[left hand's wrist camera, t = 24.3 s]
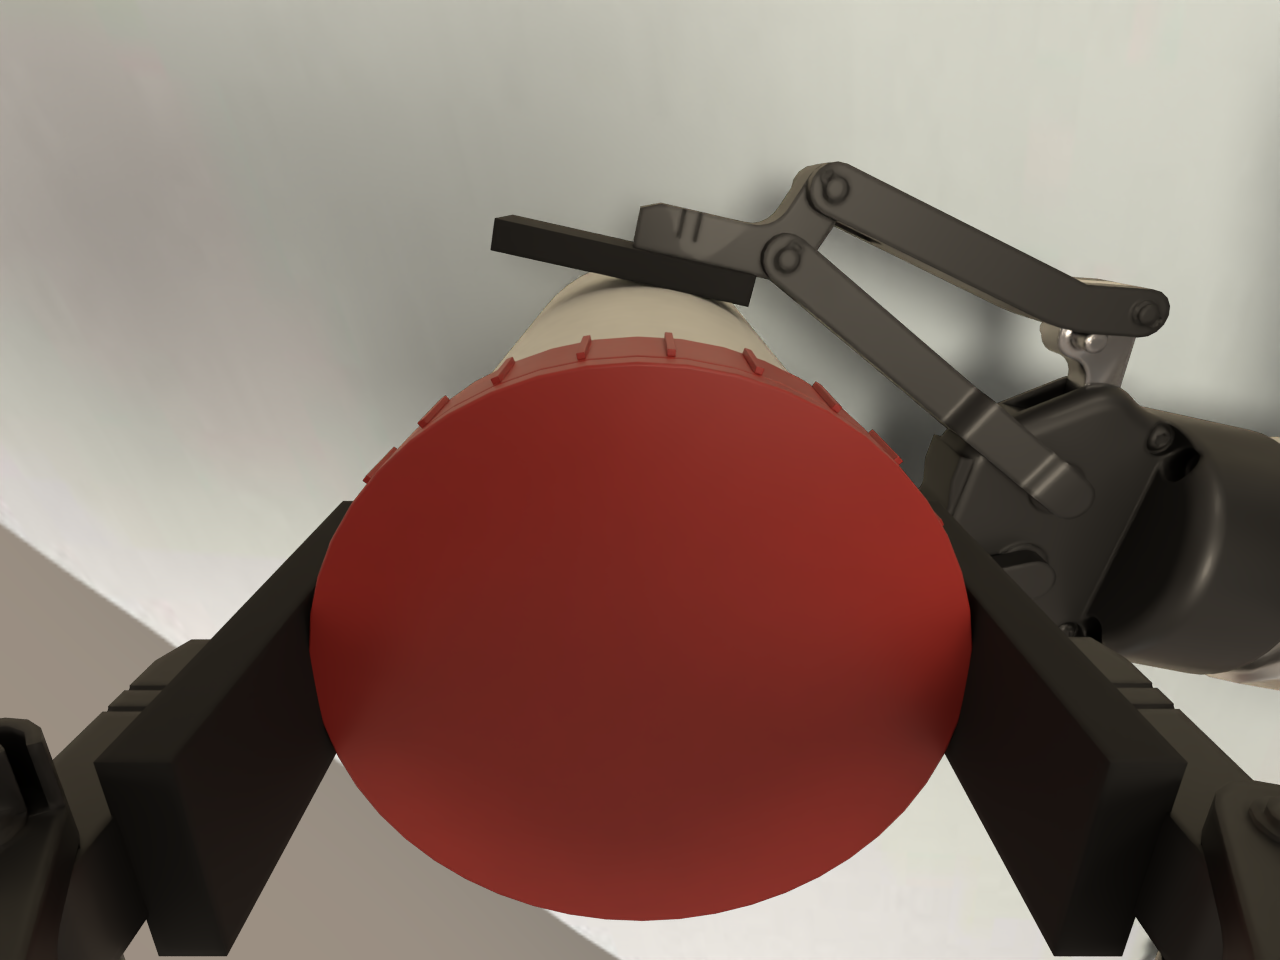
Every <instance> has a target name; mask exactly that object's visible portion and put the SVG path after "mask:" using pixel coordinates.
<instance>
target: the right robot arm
mask: <svg viewBox="0 0 1280 960" xmlns="http://www.w3.org/2000/svg"><path fill="white" fill-rule="evenodd" d="M833 226H835V227H837V228H839V229H841V230H843V231H845V232H847V233H849V234H851V235H853V236H855V237H857V238H859V239H861V240H863V241H865V242H867V243H870V244H872V245H874V246H876V247H878V248H880V249H882V250H884V251H886V252H888V253H890V254H892V255H894V256H896V257H898V258H900V259H902V260H904V261H906V262H908V263H910V264H913V265H915V266H917V267H919V268H921V269H923V270H925V271H927V272H929V273H931V274H933V275H935V276H937V277H939V278H941V279H943V280H945V281H947V282H949V283H951V284H953V285H955V286H958V287H960V288H962V289H964V290H966V291H968V292H970V293H972V294H974V295H976V296H978V297H980V298H982V299H984V300H986V301H988V302H990V303H992V304H994V305H996V306H998V307H1001V308H1003V309H1006V310H1008V311H1010V312H1013V313H1016V314H1019V315H1022V316H1025V317H1028V318H1031V319H1034V320H1037V321H1040V322H1042V323H1041V325H1040V332H1041V338H1042V342H1043V344H1044V346H1045V347H1046V348H1047V349H1048V350H1050V351H1053V352H1055V353H1058V354H1060V355H1062V356H1063V357H1064V358H1065V360H1066V361H1067V363H1068V368H1069V370H1068V376H1065V377H1062V378H1059V379H1057V380H1054V381H1052V382H1049V383H1047V384H1044V385H1042V386H1039V387H1037V388H1034V389H1032V390H1029V391H1027V392H1024V393H1022V394H1019V395H1017V396H1014V397H1012V398H1009V399H1007V400H1004V401H1001V402H999V403H996V402H995V401H993V400H992V399H991V398H989V397H988V396H987V395H985V394H984V393H983V392H981V391H980V390H979V389H977V388H976V387H975V386H974V385H973V384H971V383H970V382H969V381H968V380H967V379H966V378H964V377H963V376H962V375H961V374H960V373H959V372H957V371H956V370H955V369H954V368H953V367H952V366H951V365H949V364H948V363H947V362H946V361H945V360H944V359H942V358H941V357H940V356H939V355H938V354H937V353H935V352H934V351H933V350H932V349H931V348H930V347H928V346H927V345H926V344H925V343H924V342H923V341H922V340H920V339H919V338H918V337H917V336H916V335H915V334H913V333H912V332H911V331H910V330H909V329H908V328H906V327H905V326H904V325H903V324H902V323H901V322H900V321H898V320H897V319H896V318H895V317H894V316H893V315H891V314H890V313H889V312H888V311H887V310H886V309H884V308H883V307H882V306H881V305H880V304H879V303H877V302H876V301H875V300H874V299H873V298H872V297H871V296H869V295H868V294H867V293H866V292H865V291H864V290H862V289H861V288H860V287H859V286H858V285H857V284H855V283H854V282H853V281H852V280H851V279H850V278H848V277H847V276H846V275H845V274H844V273H843V272H842V271H840V270H839V269H838V268H837V267H836V266H835V265H833V264H832V263H831V262H830V261H829V260H828V259H826V258H825V257H824V256H823V255H822V254H821V253H819V252H818V251H817V250H818V248H819V247H820V245H821V244H822V242H823V241H824V239H825V238H826V237H827V235H828V234H829V232H830V231H831V229H832V228H833ZM491 250H492V251H497V252H501V253H506V254H510V255H515V256H520V257H524V258H529V259H533V260H538V261H542V262H547V263H551V264H556V265H560V266H565V267H569V268H574V269H579V270H583V271H588V272H592V273H597V274H601V275H606V276H610V277H615V278H619V279H624V280H629V281H633V282H638V283H642V284H647V285H651V286H656V287H660V288H665V289H670V290H674V291H678V292H683V293H688V294H692V295H697V296H701V297H706V298H710V299H715V300H719V301H724V302H728V303H733V304H738V305H742V306H747V307H748V306H749V302H750V298H751V295H752V291H753V287H754V283H755V279H756V277H760V278H765V279H769V280H770V281H772V282H773V283H774V284H775V285H776V286H778V287H779V288H780V289H781V290H782V291H784V292H785V293H786V294H787V295H788V296H790V297H791V298H792V299H793V300H794V301H795V302H797V303H798V304H799V305H800V306H801V307H803V308H804V309H805V310H806V311H807V312H809V313H810V314H811V315H812V316H813V317H815V318H816V319H817V320H818V321H819V322H821V323H822V324H823V325H824V326H825V327H827V328H828V329H829V330H830V331H831V332H833V333H834V334H835V335H836V336H837V337H839V338H840V339H841V340H842V341H843V342H845V343H846V344H847V345H848V346H849V347H851V348H852V349H853V350H854V351H855V352H857V353H858V354H859V355H860V356H861V357H863V358H864V359H865V360H866V361H867V362H869V363H870V364H871V365H872V366H873V367H875V368H876V369H877V370H878V371H879V372H881V373H882V374H883V375H884V376H885V377H887V378H888V379H889V380H890V381H891V382H893V383H894V384H895V385H896V386H897V387H899V388H900V389H901V390H902V391H903V392H905V393H906V394H907V395H908V396H909V397H911V398H912V399H913V400H914V401H915V402H916V403H917V404H918V405H920V406H921V407H922V408H923V409H924V410H926V411H927V412H928V413H929V414H930V415H932V416H933V417H934V418H935V419H936V420H938V421H939V422H940V423H941V424H942V425H944V426H945V427H946V428H947V430H946V431H945V432H944V433H943V435H942V436H939V435H934V436H933V438H932V441H931V444H930V446H929V449H928V452H927V454H926V457H925V466H924V477H923V483H922V485H921V486H920V488H919V491H920V492H921V493H922V494H923V496H924V497H925V498H926V499H927V501H938V502H939V503H940V504H941V505H942V506H943V507H944V508H945V509H946V510H947V511H948V512H949V513H950V514H951V515H952V516H953V517H954V518H955V520H956V521H957V522H958V523H959V524H960V525H961V526H962V527H963V528H964V529H965V530H966V531H967V532H968V533H969V534H970V535H971V536H972V537H973V538H974V539H975V540H976V541H977V543H978V544H979V545H980V546H981V547H982V548H983V549H984V550H985V551H986V552H987V553H988V554H989V555H990V556H991V557H992V558H993V559H994V560H995V561H996V562H997V563H998V564H999V566H1000V567H1001V568H1002V569H1003V570H1004V571H1005V572H1006V573H1007V574H1008V575H1009V576H1010V577H1011V578H1012V579H1013V580H1014V581H1015V582H1016V583H1017V584H1018V585H1019V586H1020V587H1021V588H1022V590H1023V591H1024V592H1025V593H1026V594H1027V595H1028V596H1029V597H1030V598H1031V599H1032V600H1033V601H1034V602H1035V603H1036V604H1037V605H1038V606H1039V607H1040V608H1041V609H1042V610H1043V611H1044V613H1045V614H1046V615H1047V616H1048V617H1049V618H1050V619H1051V620H1052V621H1053V622H1054V623H1055V624H1056V625H1057V626H1058V627H1059V628H1060V629H1061V630H1062V631H1063V632H1064V633H1065V634H1066V636H1067V637H1091V638H1093V639H1094V640H1096V641H1098V642H1099V643H1101V644H1103V645H1105V646H1106V647H1108V648H1110V649H1111V650H1113V651H1115V652H1117V653H1118V654H1120V655H1122V656H1123V657H1125V658H1127V659H1128V660H1129V661H1130V662H1132V663H1137V664H1142V665H1148V666H1153V667H1158V668H1163V669H1169V670H1174V671H1179V672H1184V673H1191V674H1200V675H1201V674H1205V675H1207V676H1209V677H1213V678H1217V679H1222V680H1226V681H1231V682H1235V683H1240V684H1245V685H1251V686H1257V687H1262V688H1268V689H1274V690H1279V691H1280V437H1268V436H1266V435H1264V434H1261V433H1258V432H1255V431H1251V430H1248V429H1243V428H1238V427H1234V426H1229V425H1225V424H1220V423H1215V422H1211V421H1206V420H1202V419H1197V418H1192V417H1188V416H1183V415H1179V414H1174V413H1169V412H1165V411H1160V410H1156V409H1151V408H1147V407H1142V406H1140V405H1138V404H1137V403H1136V402H1135V401H1134V400H1133V398H1132V397H1131V396H1130V395H1129V394H1128V393H1127V392H1126V391H1124V390H1123V389H1121V388H1120V386H1121V383H1122V380H1123V377H1124V374H1125V370H1126V367H1127V364H1128V361H1129V358H1130V354H1131V351H1132V348H1133V345H1134V342H1135V338H1136V337H1145V336H1149V335H1151V334H1153V333H1155V332H1157V331H1158V330H1159V329H1160V328H1161V327H1162V326H1163V325H1164V323H1165V322H1166V320H1167V318H1168V316H1169V310H1170V304H1169V301H1168V298H1167V297H1166V296H1165V295H1164V294H1163V293H1162V292H1160V291H1157V290H1153V289H1148V288H1143V287H1138V286H1132V285H1127V284H1122V283H1117V282H1112V281H1106V280H1101V279H1093V278H1079V277H1071V276H1069V275H1067V274H1065V273H1063V272H1061V271H1059V270H1057V269H1055V268H1053V267H1051V266H1049V265H1047V264H1045V263H1043V262H1041V261H1039V260H1037V259H1035V258H1033V257H1031V256H1029V255H1027V254H1025V253H1023V252H1021V251H1019V250H1017V249H1016V248H1014V247H1012V246H1010V245H1008V244H1006V243H1004V242H1002V241H1000V240H998V239H996V238H994V237H992V236H990V235H988V234H986V233H984V232H982V231H980V230H978V229H976V228H974V227H972V226H970V225H968V224H966V223H964V222H962V221H960V220H958V219H956V218H954V217H952V216H950V215H948V214H946V213H944V212H942V211H940V210H938V209H936V208H934V207H932V206H930V205H928V204H926V203H924V202H922V201H920V200H918V199H916V198H914V197H912V196H910V195H908V194H906V193H904V192H902V191H901V190H899V189H897V188H895V187H893V186H891V185H889V184H887V183H885V182H883V181H881V180H879V179H877V178H875V177H873V176H871V175H869V174H867V173H865V172H863V171H861V170H859V169H857V168H855V167H853V166H851V165H849V164H846V163H842V162H832V163H823V164H816V165H812V166H807V167H805V168H804V169H802V170H801V171H799V172H798V174H797V175H796V177H795V178H794V179H793V183H792V187H791V189H790V190H789V192H788V194H787V195H786V197H785V198H784V200H783V201H782V203H781V204H780V206H779V207H778V209H777V210H776V211H775V212H774V214H772V215H771V216H770V217H768V218H767V219H765V220H763V221H760V222H755V223H749V222H743V221H738V220H734V219H729V218H725V217H721V216H716V215H712V214H708V213H703V212H699V211H694V210H690V209H686V208H681V207H677V206H673V205H668V204H664V203H656V204H651V205H645V206H640V211H639V216H638V221H637V226H636V231H635V236H634V241H633V242H632V241H627V240H623V239H618V238H614V237H609V236H605V235H600V234H596V233H592V232H587V231H583V230H578V229H574V228H569V227H565V226H560V225H556V224H551V223H547V222H543V221H538V220H534V219H529V218H525V217H520V216H516V215H509V216H504V217H499V218H495V221H494V228H493V236H492V243H491Z"/></svg>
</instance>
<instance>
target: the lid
mask: <svg viewBox="0 0 1280 960" xmlns="http://www.w3.org/2000/svg"><path fill="white" fill-rule="evenodd" d="M418 424H419V427H418V428H417V429H416V430H415V431H414V432H413V433H412V434H411V435H410V436H409V437H408V438H407V440H406V441H405V442H404V443H403V444H402V445H401V446H400V447H399V448H398V449H397V448H395V447H393V448H392V449H391V450H390V451H389V452H388V453H387V454H386V456H385V457H384V458H383V459H382V460H381V461H380V462H379V463H378V464H377V465H376V466H375V467H374V468H373V469H372V470H371V471H370V472H369V473H368V474H367V475H366V477H365V478H364V479H363V481H364V482H365V483H366V486H365V487H364V488H363V489H362V491H361V492H360V493H359V495H358V496H357V497H356V498H355V500H354V501H353V502H352V503H351V505H350V507H349V509H348V510H347V512H346V514H345V516H344V518H343V519H342V521H341V523H340V525H339V527H338V528H337V530H336V532H335V534H334V535H333V537H332V539H331V541H330V543H329V547H328V550H327V552H326V555H325V558H324V560H323V563H322V566H321V569H320V571H319V574H318V577H317V582H316V587H315V592H314V597H313V602H312V608H311V613H310V636H309V653H310V658H311V664H312V670H313V675H314V681H315V686H316V691H317V696H318V701H319V706H320V711H321V715H322V720H323V724H324V726H325V729H326V731H327V733H328V735H329V737H330V740H331V742H332V744H333V746H334V749H335V751H336V753H337V755H338V757H339V759H340V760H341V762H342V764H343V765H344V767H345V768H346V770H347V772H348V773H349V775H350V776H351V778H352V780H353V781H354V783H355V784H356V786H357V787H358V789H359V790H360V791H361V792H362V793H363V795H364V796H365V797H366V798H367V800H368V801H369V802H370V803H371V804H372V806H373V807H374V808H375V809H376V810H377V812H378V813H379V814H380V815H381V816H382V817H383V818H384V819H385V820H386V821H387V822H388V823H389V824H390V825H392V826H393V827H394V828H395V829H396V830H397V831H398V832H399V833H400V834H401V835H402V836H403V837H404V838H405V839H406V840H408V841H409V842H410V843H412V844H413V845H414V846H416V847H417V848H418V849H420V850H421V851H423V852H424V853H425V854H426V855H428V856H429V857H430V858H432V859H433V860H434V861H436V862H438V863H440V864H441V865H443V866H445V867H446V868H448V869H450V870H451V871H453V872H455V873H456V874H458V875H460V876H461V877H463V878H465V879H467V880H469V881H471V882H473V883H476V884H478V885H480V886H482V887H484V888H486V889H489V890H491V891H493V892H495V893H497V894H500V895H503V896H506V897H509V898H512V899H515V900H518V901H520V902H523V903H526V904H529V905H532V906H536V907H540V908H544V909H549V910H553V911H557V912H561V913H566V914H570V915H578V916H585V917H592V918H600V919H610V920H634V921H649V920H669V919H682V918H689V917H696V916H703V915H710V914H716V913H720V912H724V911H728V910H732V909H736V908H740V907H745V906H749V905H752V904H755V903H758V902H761V901H764V900H766V899H769V898H772V897H775V896H778V895H781V894H783V893H786V892H788V891H790V890H793V889H795V888H797V887H799V886H801V885H803V884H805V883H807V882H810V881H812V880H814V879H816V878H818V877H820V876H822V875H823V874H825V873H827V872H828V871H830V870H831V869H833V868H835V867H836V866H838V865H840V864H841V863H843V862H845V861H846V860H848V859H850V858H851V857H852V856H854V855H855V854H856V853H857V852H859V851H860V850H861V849H863V848H864V847H865V846H867V845H868V844H869V843H870V842H872V841H873V840H874V839H876V838H877V837H878V836H879V835H880V834H881V833H882V832H883V831H884V830H885V829H886V828H887V827H889V826H890V825H891V824H892V823H893V822H894V821H895V820H896V819H897V818H898V817H899V816H900V815H901V814H902V813H903V812H904V811H905V810H906V808H907V807H908V806H909V805H910V803H911V802H912V801H913V800H914V798H915V797H916V796H917V795H918V793H919V792H920V791H921V790H922V788H923V787H924V786H925V785H926V783H927V782H928V780H929V778H930V777H931V775H932V773H933V772H934V770H935V768H936V767H937V765H938V763H939V762H940V760H941V758H942V757H943V755H944V753H945V752H946V749H947V747H948V744H949V742H950V740H951V737H952V735H953V733H954V730H955V728H956V726H957V723H958V720H959V716H960V711H961V706H962V701H963V696H964V691H965V686H966V681H967V675H968V670H969V664H970V658H971V652H972V634H971V615H970V606H969V602H968V597H967V592H966V588H965V583H964V578H963V574H962V571H961V568H960V565H959V563H958V560H957V558H956V555H955V553H954V550H953V547H952V545H951V542H950V540H949V537H948V535H947V533H946V531H945V530H944V528H943V525H944V524H943V522H942V520H941V518H940V517H939V516H938V515H937V514H936V513H935V512H934V511H933V509H932V508H931V506H930V504H929V502H928V501H927V499H926V498H925V497H924V496H923V494H922V493H921V492H920V491H919V489H918V488H917V487H916V486H915V484H914V483H913V482H912V481H911V480H910V478H909V477H908V476H907V475H906V473H905V472H904V471H903V470H902V468H901V467H900V466H899V464H901V463H902V462H903V460H902V459H901V458H900V457H899V456H898V455H897V454H896V453H895V452H894V451H893V450H892V449H891V448H890V447H889V446H888V445H887V444H886V443H885V442H884V440H883V439H882V438H881V437H880V436H879V435H878V434H877V433H876V432H875V431H874V430H871V431H870V432H869V433H868V432H867V431H866V430H865V429H864V428H863V427H862V426H861V425H860V424H859V423H858V422H856V421H855V420H854V419H853V418H852V417H851V416H850V415H849V414H848V413H847V412H846V411H844V410H843V409H842V407H841V406H840V405H839V403H838V402H837V401H836V400H835V399H834V398H833V397H832V396H831V395H830V394H829V393H828V392H827V391H826V390H825V388H824V387H823V386H822V385H821V384H819V383H818V382H815V383H814V384H813V386H811V385H809V384H808V383H807V382H805V381H804V380H802V379H800V378H798V377H796V376H794V375H792V374H790V373H788V372H786V371H784V370H782V369H780V368H778V367H776V366H774V365H772V364H770V363H768V362H766V361H764V360H761V359H758V358H757V357H756V356H755V355H754V353H753V352H752V350H750V349H747V348H744V351H743V353H740V352H737V351H734V350H731V349H728V348H725V347H721V346H715V345H710V344H705V343H700V342H695V341H689V340H684V339H674V338H673V334H672V333H670V332H665V334H664V338H656V337H639V336H637V337H624V338H610V339H596V340H591V336H590V335H587V336H583V338H582V340H581V343H576V344H571V345H566V346H561V347H557V348H552V349H549V350H546V351H544V352H541V353H538V354H535V355H532V356H529V357H526V358H524V359H521V360H518V361H515V360H514V358H513V357H510V358H508V359H506V360H505V361H504V363H503V364H502V365H501V366H500V368H499V369H498V370H497V371H495V372H493V373H491V374H489V375H487V376H485V377H483V378H481V379H479V380H477V381H475V382H474V383H472V384H471V385H470V386H468V387H467V388H465V389H464V390H463V391H461V392H460V393H458V394H457V395H455V396H454V397H453V398H451V399H450V400H449V399H448V397H447V396H446V395H445V396H444V397H442V398H441V399H440V400H439V401H438V402H437V403H436V404H435V405H434V406H433V407H432V408H431V409H430V411H429V412H428V413H427V414H426V415H425V416H424V417H423V418H422V419H421V420H420V421H419V422H418Z"/></svg>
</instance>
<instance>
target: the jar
mask: <svg viewBox="0 0 1280 960" xmlns="http://www.w3.org/2000/svg"><path fill="white" fill-rule="evenodd" d="M665 332H670V333H672V334H673V338H674V339H684V340H689V341H695V342H700V343H705V344H710V345H715V346H721V347H725V348H728V349H731V350H734V351H737V352H740V353H743V351H744V348H747V349H750V350H752V352H753V353H754V355H755V356H756V357H757V358H758V359H761V360H764V361H766V362H768V363H770V364H772V365H774V366H776V367H778V368H780V369H782V370H784V371H786V372H788V371H787V370H786V369H785V368H784V366H783V365H782V364H781V363H780V361H779V360H778V359H777V358H776V357H775V355H774V354H773V353H772V352H771V350H770V349H769V348H768V347H767V346H766V344H765V343H764V342H763V341H762V339H761V338H760V337H759V336H758V335H757V333H756V332H755V331H754V330H753V328H752V327H751V326H750V325H749V324H748V322H747V321H746V320H745V319H744V317H743V316H742V315H741V314H740V313H739V311H738V310H737V309H736V308H735V306H734V305H733V304H732V303H728V302H724V301H719V300H715V299H710V298H706V297H701V296H697V295H692V294H688V293H683V292H678V291H674V290H670V289H665V288H660V287H656V286H651V285H647V284H642V283H638V282H633V281H629V280H624V279H619V278H615V277H610V276H606V275H601V274H597V273H592V272H589V273H587V274H585V275H583V276H581V277H579V278H578V279H576V280H575V281H573V282H572V283H570V284H569V285H567V286H566V287H565V288H564V289H563V290H562V291H560V292H559V293H558V294H557V295H556V296H555V297H554V298H553V299H552V300H551V301H550V303H549V304H548V305H547V306H546V307H545V308H544V310H543V311H542V312H541V313H540V314H539V316H538V317H537V318H536V319H535V321H534V322H533V323H532V324H531V325H530V327H529V328H528V329H527V330H526V332H525V333H524V334H523V335H522V337H521V338H520V339H519V340H518V341H517V343H516V344H515V345H514V346H513V348H512V349H511V350H510V351H509V352H508V354H507V355H506V356H505V357H504V359H503V360H502V361H501V362H500V364H499V365H498V366H497V367H496V368H495V370H494V371H493V372H495V371H497V370H498V369H499V368H500V366H501V365H502V364H503V363H504V361H505V360H506V359H508V358H510V357H513V358H514V360H515V361H518V360H521V359H524V358H526V357H529V356H532V355H535V354H538V353H541V352H544V351H546V350H549V349H552V348H557V347H561V346H566V345H571V344H576V343H581V340H582V338H583V336H587V335H590V336H591V340H596V339H610V338H624V337H637V336H639V337H656V338H664V334H665ZM493 372H492V373H493Z"/></svg>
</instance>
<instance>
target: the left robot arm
mask: <svg viewBox="0 0 1280 960" xmlns="http://www.w3.org/2000/svg"><path fill="white" fill-rule="evenodd" d="M352 502H353V501H343V502H342V503H341V504H340V505H339V506H338V507H337V508H336V509H335V510H334V511H333V512H332V513H331V514H330V515H329V516H328V517H327V518H326V519H325V520H324V521H323V522H322V524H321V525H320V526H319V527H318V528H317V529H316V530H315V531H314V532H313V533H312V534H311V535H310V536H309V537H308V538H307V539H306V540H305V541H304V542H303V543H302V544H301V545H300V547H299V548H298V549H297V550H296V551H295V552H294V553H293V554H292V555H291V556H290V557H289V558H288V559H287V560H286V561H285V562H284V563H283V564H282V565H281V566H280V567H279V569H278V570H277V571H276V572H275V573H274V574H273V575H272V576H271V577H270V578H269V579H268V580H267V581H266V582H265V583H264V584H263V585H262V586H261V587H260V588H259V589H258V590H257V592H256V593H255V594H254V595H253V596H252V597H251V598H250V599H249V600H248V601H247V602H246V603H245V604H244V605H243V606H242V607H241V608H240V609H239V610H238V611H237V612H236V613H235V615H234V616H233V617H232V618H231V619H230V620H229V621H228V622H227V623H226V624H225V625H224V626H223V627H222V628H221V629H220V630H219V631H218V632H217V633H216V634H215V635H214V636H213V638H212V639H194V640H190V641H188V642H186V643H185V644H183V645H181V646H179V647H178V648H176V649H174V650H173V651H171V652H169V653H167V654H166V655H164V656H162V657H161V658H159V659H157V660H156V661H154V662H153V663H152V664H151V665H150V666H149V667H148V668H147V669H146V670H145V671H144V672H143V673H142V674H141V675H140V676H139V677H138V678H137V679H136V680H135V681H134V682H133V683H132V684H131V685H130V689H129V690H125V691H123V692H122V693H121V694H120V695H119V696H118V697H117V698H116V699H115V700H114V701H113V702H112V703H111V704H110V705H109V706H108V711H107V712H102V713H101V714H100V715H99V716H98V717H97V718H96V719H95V720H94V721H92V722H91V723H90V724H89V725H88V726H87V727H86V728H85V729H84V730H83V731H82V732H81V733H80V734H79V735H78V736H77V737H76V738H75V739H74V740H73V741H72V742H71V743H70V744H69V745H68V746H67V747H66V748H65V749H64V750H63V751H62V752H61V753H60V754H58V755H57V756H56V757H55V758H54V759H53V760H52V757H51V755H50V752H49V749H48V746H47V743H46V741H45V738H44V735H43V733H42V730H41V728H40V727H39V726H37V725H36V724H34V723H32V722H31V721H29V720H27V719H14V718H0V960H125V958H124V955H123V953H124V951H125V950H126V948H127V947H128V945H129V944H130V942H131V941H132V939H133V938H134V937H135V935H136V934H137V932H138V931H139V929H140V928H141V926H142V925H143V923H144V922H145V920H147V923H148V926H149V929H150V931H151V934H152V937H153V940H154V943H155V946H156V949H157V952H158V955H159V956H227V955H228V953H229V951H230V949H231V947H232V945H233V944H234V942H235V940H236V938H237V936H238V934H239V933H240V931H241V929H242V927H243V925H244V923H245V922H246V920H247V918H248V916H249V914H250V912H251V910H252V909H253V907H254V905H255V903H256V901H257V899H258V897H259V896H260V894H261V892H262V890H263V888H264V886H265V884H266V883H267V881H268V879H269V877H270V875H271V873H272V871H273V870H274V868H275V866H276V864H277V862H278V860H279V858H280V857H281V855H282V853H283V851H284V849H285V847H286V846H287V844H288V842H289V840H290V838H291V836H292V834H293V832H294V831H295V829H296V827H297V825H298V823H299V821H300V820H301V818H302V816H303V814H304V812H305V810H306V808H307V806H308V805H309V803H310V801H311V799H312V797H313V795H314V794H315V792H316V790H317V788H318V786H319V784H320V782H321V781H322V779H323V777H324V775H325V773H326V771H327V769H328V768H329V766H330V764H331V762H332V760H333V758H334V757H335V755H336V751H335V749H334V746H333V744H332V742H331V740H330V737H329V735H328V733H327V731H326V729H325V726H324V724H323V720H322V715H321V711H320V706H319V701H318V696H317V691H316V686H315V681H314V675H313V670H312V664H311V658H310V653H309V636H310V613H311V608H312V602H313V597H314V592H315V587H316V582H317V577H318V574H319V571H320V569H321V566H322V563H323V560H324V558H325V555H326V552H327V550H328V547H329V543H330V541H331V539H332V537H333V535H334V534H335V532H336V530H337V528H338V527H339V525H340V523H341V521H342V519H343V518H344V516H345V514H346V512H347V510H348V509H349V507H350V505H351V503H352ZM928 502H929V504H930V506H931V508H932V509H933V511H934V512H935V513H936V514H937V515H938V516H939V517H940V518H941V520H942V522H943V524H944V525H943V528H944V530H945V531H946V533H947V535H948V537H949V540H950V542H951V545H952V547H953V550H954V553H955V555H956V558H957V560H958V563H959V565H960V568H961V571H962V574H963V578H964V583H965V588H966V592H967V597H968V602H969V606H970V615H971V634H972V652H971V658H970V664H969V670H968V675H967V681H966V686H965V691H964V696H963V701H962V706H961V711H960V716H959V720H958V723H957V726H956V728H955V730H954V733H953V735H952V737H951V740H950V742H949V744H948V747H947V749H946V752H945V755H946V757H947V759H948V761H949V762H950V764H951V766H952V768H953V770H954V772H955V774H956V775H957V777H958V779H959V781H960V783H961V785H962V787H963V788H964V790H965V792H966V794H967V796H968V798H969V800H970V801H971V803H972V805H973V807H974V809H975V811H976V812H977V814H978V816H979V818H980V820H981V822H982V824H983V825H984V827H985V829H986V831H987V833H988V835H989V837H990V838H991V840H992V842H993V844H994V846H995V848H996V850H997V851H998V853H999V855H1000V857H1001V859H1002V861H1003V863H1004V864H1005V866H1006V868H1007V870H1008V872H1009V874H1010V876H1011V877H1012V879H1013V881H1014V883H1015V885H1016V887H1017V888H1018V890H1019V892H1020V894H1021V896H1022V898H1023V900H1024V901H1025V903H1026V905H1027V907H1028V909H1029V911H1030V913H1031V914H1032V916H1033V918H1034V920H1035V922H1036V924H1037V926H1038V927H1039V929H1040V931H1041V933H1042V935H1043V937H1044V939H1045V940H1046V942H1047V944H1048V946H1049V948H1050V950H1051V951H1052V953H1053V955H1054V956H1122V955H1123V952H1124V949H1125V946H1126V943H1127V940H1128V937H1129V934H1130V932H1131V929H1132V926H1133V923H1134V920H1135V917H1136V918H1137V920H1138V921H1139V922H1140V924H1141V925H1142V927H1143V928H1144V930H1145V931H1146V933H1147V934H1148V936H1149V937H1150V939H1151V940H1152V942H1153V943H1154V944H1155V946H1156V947H1157V949H1158V952H1157V955H1156V958H1155V960H1280V785H1277V784H1271V783H1266V782H1260V781H1254V780H1252V779H1251V778H1250V777H1249V776H1248V775H1247V774H1246V773H1245V772H1244V771H1243V770H1242V769H1241V768H1240V767H1239V766H1238V765H1237V764H1236V763H1235V762H1234V761H1233V760H1232V759H1231V758H1230V757H1229V756H1227V755H1226V754H1225V753H1224V752H1223V751H1222V750H1221V749H1220V748H1219V747H1218V746H1217V745H1216V744H1215V743H1214V742H1213V741H1212V740H1211V739H1210V738H1209V737H1208V736H1207V735H1206V734H1205V733H1204V732H1203V731H1202V730H1200V729H1199V728H1198V727H1197V726H1196V725H1195V724H1194V723H1193V722H1192V721H1191V720H1190V719H1189V718H1188V717H1187V716H1186V715H1185V714H1184V713H1183V712H1182V711H1181V710H1180V709H1175V708H1174V704H1173V703H1172V702H1171V701H1170V700H1169V699H1168V698H1167V697H1166V696H1165V695H1164V694H1163V693H1162V692H1161V691H1160V690H1159V689H1158V688H1153V687H1152V682H1151V681H1150V680H1149V679H1148V678H1146V677H1145V676H1144V675H1143V674H1142V673H1141V672H1140V671H1139V670H1138V669H1137V668H1136V667H1135V666H1134V665H1133V664H1132V663H1131V662H1130V661H1129V660H1128V659H1127V658H1125V657H1123V656H1122V655H1120V654H1118V653H1117V652H1115V651H1113V650H1111V649H1110V648H1108V647H1106V646H1105V645H1103V644H1101V643H1099V642H1098V641H1096V640H1094V639H1093V638H1091V637H1067V636H1066V634H1065V633H1064V632H1063V631H1062V630H1061V629H1060V628H1059V627H1058V626H1057V625H1056V624H1055V623H1054V622H1053V621H1052V620H1051V619H1050V618H1049V617H1048V616H1047V615H1046V614H1045V613H1044V611H1043V610H1042V609H1041V608H1040V607H1039V606H1038V605H1037V604H1036V603H1035V602H1034V601H1033V600H1032V599H1031V598H1030V597H1029V596H1028V595H1027V594H1026V593H1025V592H1024V591H1023V590H1022V588H1021V587H1020V586H1019V585H1018V584H1017V583H1016V582H1015V581H1014V580H1013V579H1012V578H1011V577H1010V576H1009V575H1008V574H1007V573H1006V572H1005V571H1004V570H1003V569H1002V568H1001V567H1000V566H999V564H998V563H997V562H996V561H995V560H994V559H993V558H992V557H991V556H990V555H989V554H988V553H987V552H986V551H985V550H984V549H983V548H982V547H981V546H980V545H979V544H978V543H977V541H976V540H975V539H974V538H973V537H972V536H971V535H970V534H969V533H968V532H967V531H966V530H965V529H964V528H963V527H962V526H961V525H960V524H959V523H958V522H957V521H956V520H955V518H954V517H953V516H952V515H951V514H950V513H949V512H948V511H947V510H946V509H945V508H944V507H943V506H942V505H941V504H940V503H939V502H938V501H928Z"/></svg>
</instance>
